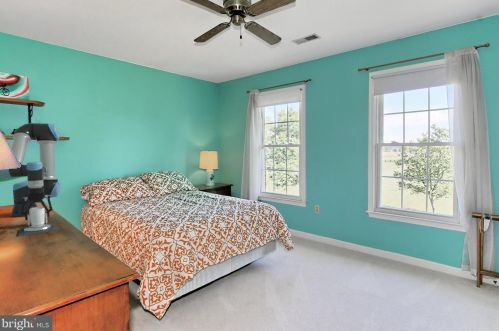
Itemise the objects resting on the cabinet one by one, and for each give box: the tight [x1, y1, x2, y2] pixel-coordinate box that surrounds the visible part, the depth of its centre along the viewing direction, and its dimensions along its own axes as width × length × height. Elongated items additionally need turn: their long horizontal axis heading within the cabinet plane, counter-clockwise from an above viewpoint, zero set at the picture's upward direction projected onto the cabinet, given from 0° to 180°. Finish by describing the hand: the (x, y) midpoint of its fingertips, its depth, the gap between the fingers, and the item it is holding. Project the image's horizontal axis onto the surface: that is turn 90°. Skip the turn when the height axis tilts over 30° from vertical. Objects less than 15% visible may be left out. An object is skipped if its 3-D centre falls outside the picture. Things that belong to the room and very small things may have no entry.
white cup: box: [29, 206, 46, 226], centre depth 165 cm, size 8×8×10 cm
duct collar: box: [18, 222, 56, 237], centre depth 154 cm, size 14×16×2 cm
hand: (37, 223), depth 166 cm, fingers open, 8 cm apart
